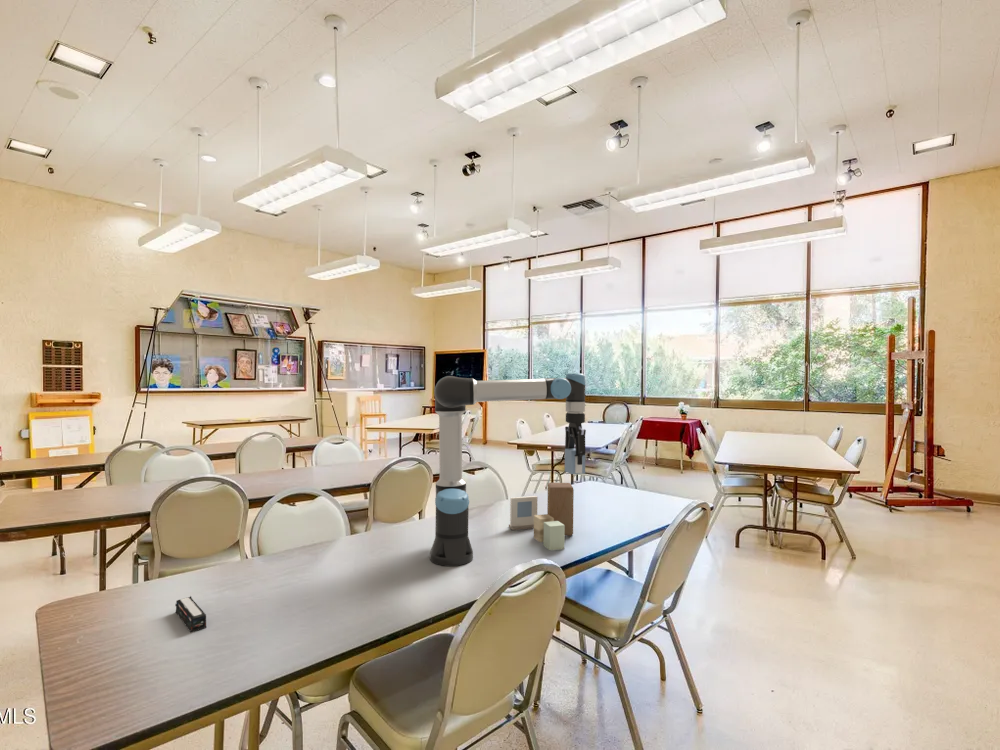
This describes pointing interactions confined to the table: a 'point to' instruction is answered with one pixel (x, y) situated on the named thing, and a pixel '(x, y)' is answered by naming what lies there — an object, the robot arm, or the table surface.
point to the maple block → (540, 526)
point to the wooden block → (561, 504)
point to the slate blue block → (572, 461)
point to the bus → (191, 614)
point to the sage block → (554, 535)
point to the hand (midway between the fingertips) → (574, 471)
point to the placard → (522, 512)
